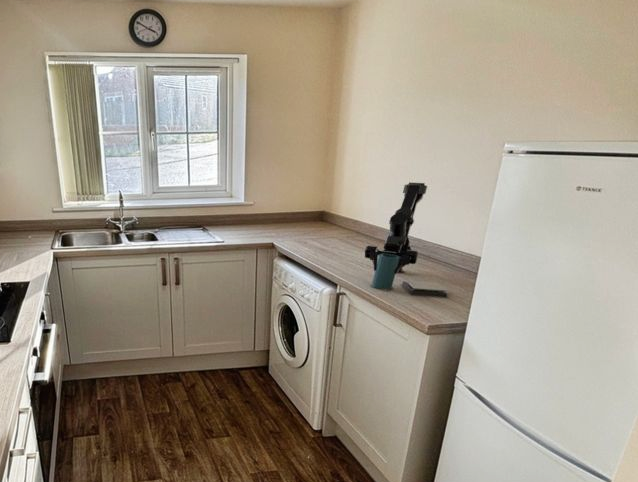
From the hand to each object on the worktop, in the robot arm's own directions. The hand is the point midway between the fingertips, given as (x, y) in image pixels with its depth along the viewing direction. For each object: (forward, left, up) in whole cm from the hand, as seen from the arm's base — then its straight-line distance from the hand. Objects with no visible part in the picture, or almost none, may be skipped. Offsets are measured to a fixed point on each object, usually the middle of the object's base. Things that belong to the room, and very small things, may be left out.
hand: (384, 271), depth 182 cm
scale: (0, +16, -7) cm, 17 cm away
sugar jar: (-1, 0, -7) cm, 7 cm away
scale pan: (0, +16, -5) cm, 16 cm away
